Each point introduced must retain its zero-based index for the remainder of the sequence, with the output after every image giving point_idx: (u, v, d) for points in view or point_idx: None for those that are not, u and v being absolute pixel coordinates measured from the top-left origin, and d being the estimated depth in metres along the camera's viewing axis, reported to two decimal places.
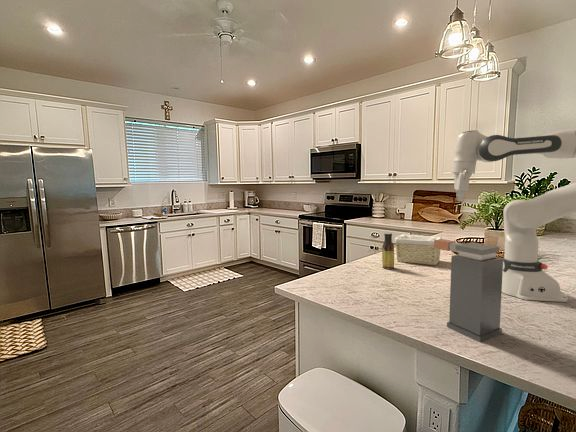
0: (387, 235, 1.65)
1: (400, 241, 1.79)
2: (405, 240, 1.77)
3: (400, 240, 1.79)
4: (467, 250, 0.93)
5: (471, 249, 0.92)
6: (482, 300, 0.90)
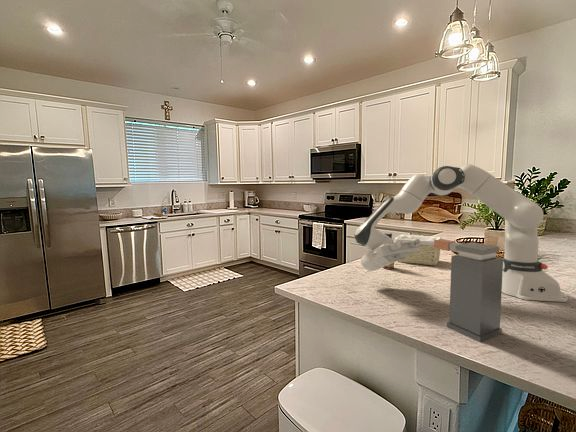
0: (387, 235, 1.65)
1: (400, 241, 1.78)
2: (404, 240, 1.77)
3: (400, 240, 1.78)
4: (467, 250, 0.93)
5: (471, 249, 0.92)
6: (482, 300, 0.90)
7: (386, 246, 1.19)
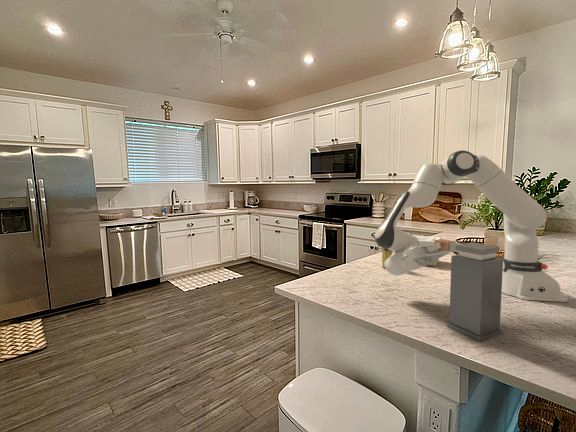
0: None
1: None
2: None
3: None
4: (467, 250, 0.93)
5: (471, 249, 0.92)
6: (482, 300, 0.90)
7: (418, 248, 1.05)
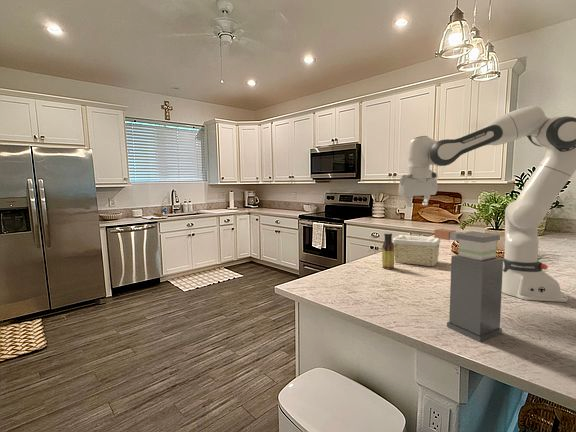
0: (387, 235, 1.65)
1: (398, 242, 1.77)
2: (402, 241, 1.75)
3: (398, 241, 1.77)
4: (467, 238, 0.92)
5: (471, 237, 0.91)
6: (482, 300, 0.90)
7: (406, 196, 1.28)
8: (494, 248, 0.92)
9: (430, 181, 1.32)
